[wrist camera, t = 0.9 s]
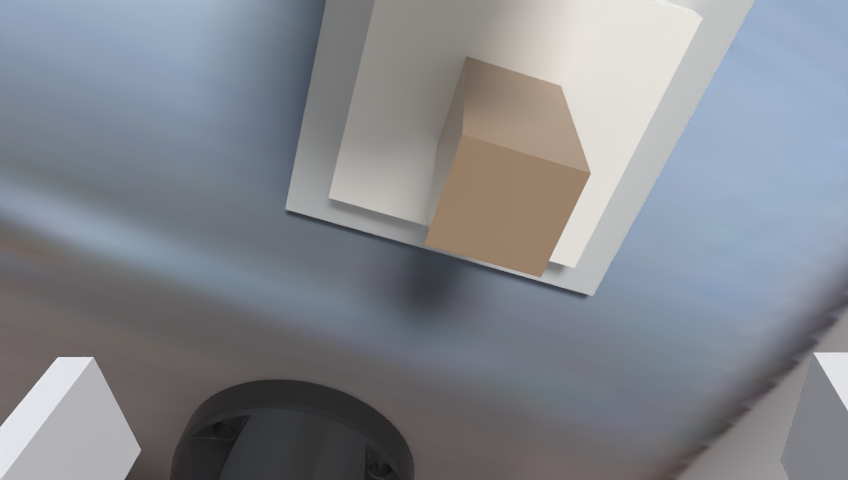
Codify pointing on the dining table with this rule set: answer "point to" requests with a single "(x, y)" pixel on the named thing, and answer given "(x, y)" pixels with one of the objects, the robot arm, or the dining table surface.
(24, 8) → the dining table surface
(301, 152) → the mat
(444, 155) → the square plate with block
